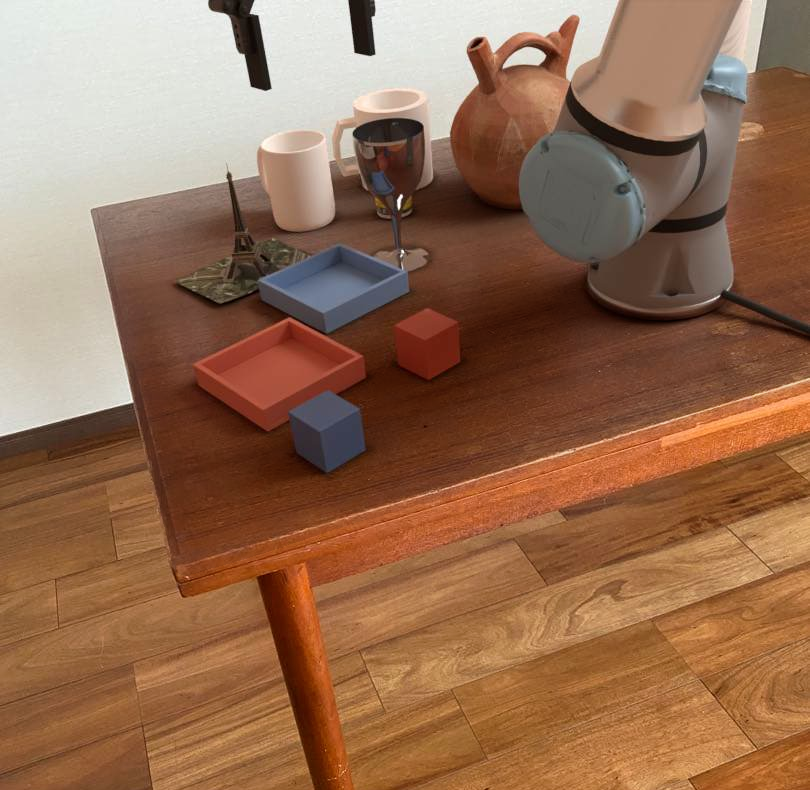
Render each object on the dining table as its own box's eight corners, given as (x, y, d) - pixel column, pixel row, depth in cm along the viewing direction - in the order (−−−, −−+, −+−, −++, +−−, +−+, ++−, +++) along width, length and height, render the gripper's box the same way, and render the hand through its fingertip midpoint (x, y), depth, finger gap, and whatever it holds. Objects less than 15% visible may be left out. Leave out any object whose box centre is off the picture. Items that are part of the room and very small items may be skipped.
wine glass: (442, 248, 108) (435, 120, 98) (416, 278, 103) (405, 145, 93) (384, 241, 111) (371, 116, 101) (355, 269, 106) (339, 140, 96)
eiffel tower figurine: (273, 241, 114) (252, 133, 105) (322, 262, 108) (305, 150, 99) (175, 284, 107) (144, 173, 98) (222, 309, 102) (193, 194, 93)
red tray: (366, 377, 88) (363, 355, 87) (267, 432, 83) (262, 410, 81) (293, 337, 95) (289, 316, 94) (198, 385, 90) (192, 364, 88)
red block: (460, 361, 89) (458, 321, 86) (428, 380, 87) (425, 340, 84) (430, 347, 92) (427, 307, 89) (397, 364, 90) (393, 325, 87)
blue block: (365, 450, 79) (360, 408, 76) (327, 473, 77) (319, 431, 74) (334, 430, 82) (327, 389, 79) (296, 452, 80) (287, 411, 77)
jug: (551, 157, 128) (556, -2, 114) (616, 199, 115) (630, 26, 101) (433, 184, 124) (423, 23, 110) (486, 231, 111) (483, 55, 97)
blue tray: (409, 291, 101) (407, 271, 99) (326, 334, 95) (323, 313, 94) (342, 262, 108) (339, 242, 106) (261, 300, 103) (257, 280, 101)
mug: (346, 203, 121) (336, 122, 114) (333, 177, 129) (322, 99, 122) (441, 186, 123) (437, 104, 116) (422, 161, 130) (417, 83, 123)
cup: (304, 237, 114) (291, 157, 107) (244, 218, 121) (228, 141, 114) (349, 214, 118) (338, 136, 112) (288, 197, 125) (275, 121, 118)
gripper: (358, -209, 86) (382, 36, 100) (130, -173, 75) (194, 97, 89) (409, -213, 81) (427, 45, 95) (174, -175, 70) (234, 110, 84)
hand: (314, 70), depth 92 cm, fingers open, 13 cm apart
